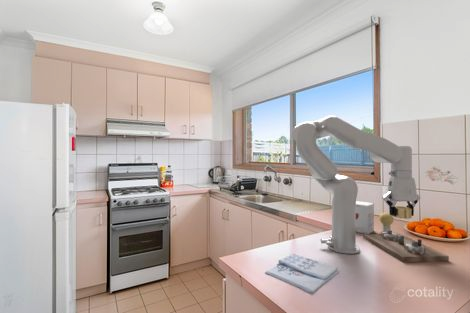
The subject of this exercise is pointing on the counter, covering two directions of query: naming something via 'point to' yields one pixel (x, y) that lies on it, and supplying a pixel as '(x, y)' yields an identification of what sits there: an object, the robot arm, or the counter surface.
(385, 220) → the light bulb
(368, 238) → the gear board
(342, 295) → the counter surface
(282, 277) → the folded cloth napkin
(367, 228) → the supplement box
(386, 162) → the robot arm
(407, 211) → the brass gear
